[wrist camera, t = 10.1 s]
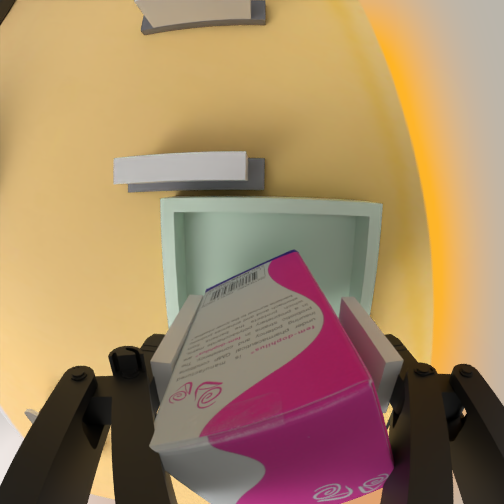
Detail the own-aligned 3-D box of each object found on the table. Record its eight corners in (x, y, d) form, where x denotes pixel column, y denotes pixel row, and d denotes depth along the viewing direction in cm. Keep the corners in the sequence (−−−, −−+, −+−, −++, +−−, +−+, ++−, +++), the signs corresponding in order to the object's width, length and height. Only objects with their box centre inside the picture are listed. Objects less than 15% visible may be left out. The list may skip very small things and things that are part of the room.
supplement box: (249, 365, 18) (239, 529, 6) (203, 287, 16) (127, 443, 5) (334, 330, 17) (402, 485, 6) (297, 245, 16) (373, 372, 5)
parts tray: (174, 196, 19) (160, 198, 16) (364, 200, 18) (382, 203, 16) (185, 362, 22) (176, 384, 19) (344, 363, 21) (354, 385, 18)
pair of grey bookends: (147, 16, 15) (125, -15, 11) (265, 5, 15) (266, -32, 11) (132, 191, 19) (98, 195, 14) (263, 190, 19) (265, 191, 14)
